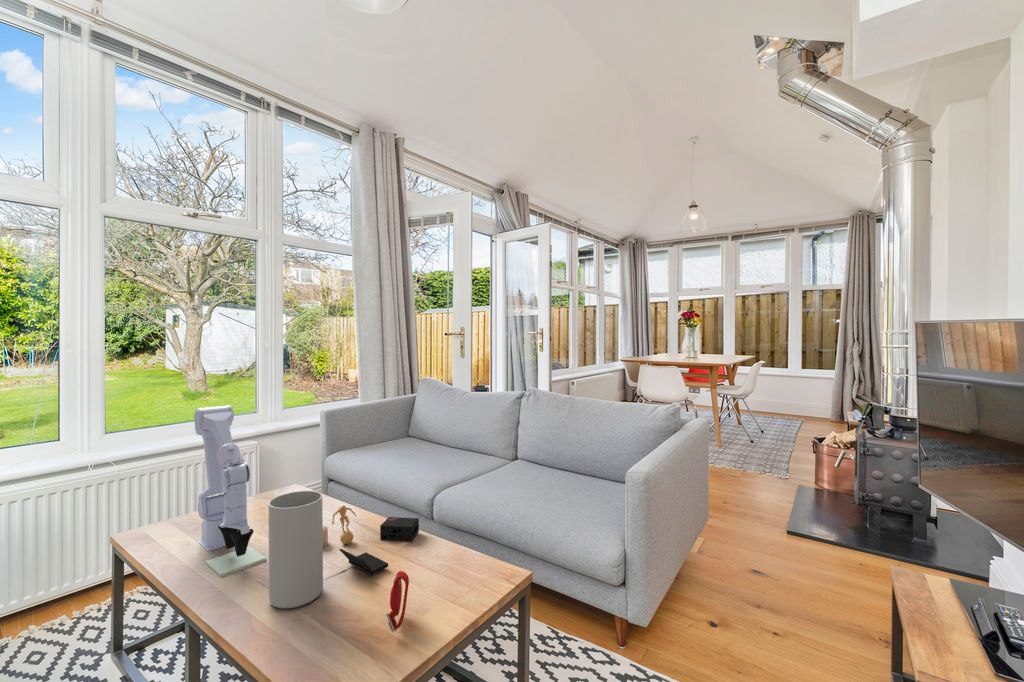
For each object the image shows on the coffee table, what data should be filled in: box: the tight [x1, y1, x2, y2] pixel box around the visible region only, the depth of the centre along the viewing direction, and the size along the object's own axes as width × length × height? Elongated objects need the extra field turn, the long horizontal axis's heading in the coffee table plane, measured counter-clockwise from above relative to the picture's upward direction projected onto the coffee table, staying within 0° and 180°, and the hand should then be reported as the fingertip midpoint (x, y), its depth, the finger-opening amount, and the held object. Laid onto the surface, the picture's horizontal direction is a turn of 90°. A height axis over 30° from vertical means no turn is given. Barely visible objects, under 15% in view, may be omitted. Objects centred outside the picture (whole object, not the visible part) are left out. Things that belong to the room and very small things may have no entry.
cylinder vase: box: [268, 490, 324, 609], centre depth 115 cm, size 12×12×25 cm
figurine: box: [331, 505, 357, 545], centre depth 144 cm, size 8×6×12 cm
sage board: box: [204, 545, 267, 578], centre depth 131 cm, size 12×12×1 cm
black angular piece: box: [338, 548, 389, 576], centre depth 128 cm, size 12×7×10 cm
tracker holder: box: [386, 570, 410, 633], centre depth 104 cm, size 12×4×10 cm, turn 5°
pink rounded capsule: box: [323, 525, 329, 548], centre depth 142 cm, size 5×5×5 cm
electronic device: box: [379, 516, 420, 542], centre depth 149 cm, size 7×11×5 cm
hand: (235, 551), depth 131 cm, fingers open, 7 cm apart
